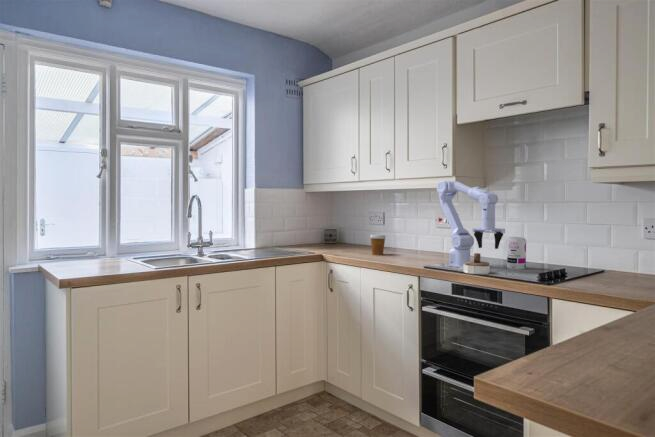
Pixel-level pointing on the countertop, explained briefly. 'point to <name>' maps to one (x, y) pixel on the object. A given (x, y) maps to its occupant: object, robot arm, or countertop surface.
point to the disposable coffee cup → (377, 243)
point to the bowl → (476, 269)
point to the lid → (476, 261)
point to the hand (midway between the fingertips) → (488, 248)
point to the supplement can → (516, 253)
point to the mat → (503, 270)
